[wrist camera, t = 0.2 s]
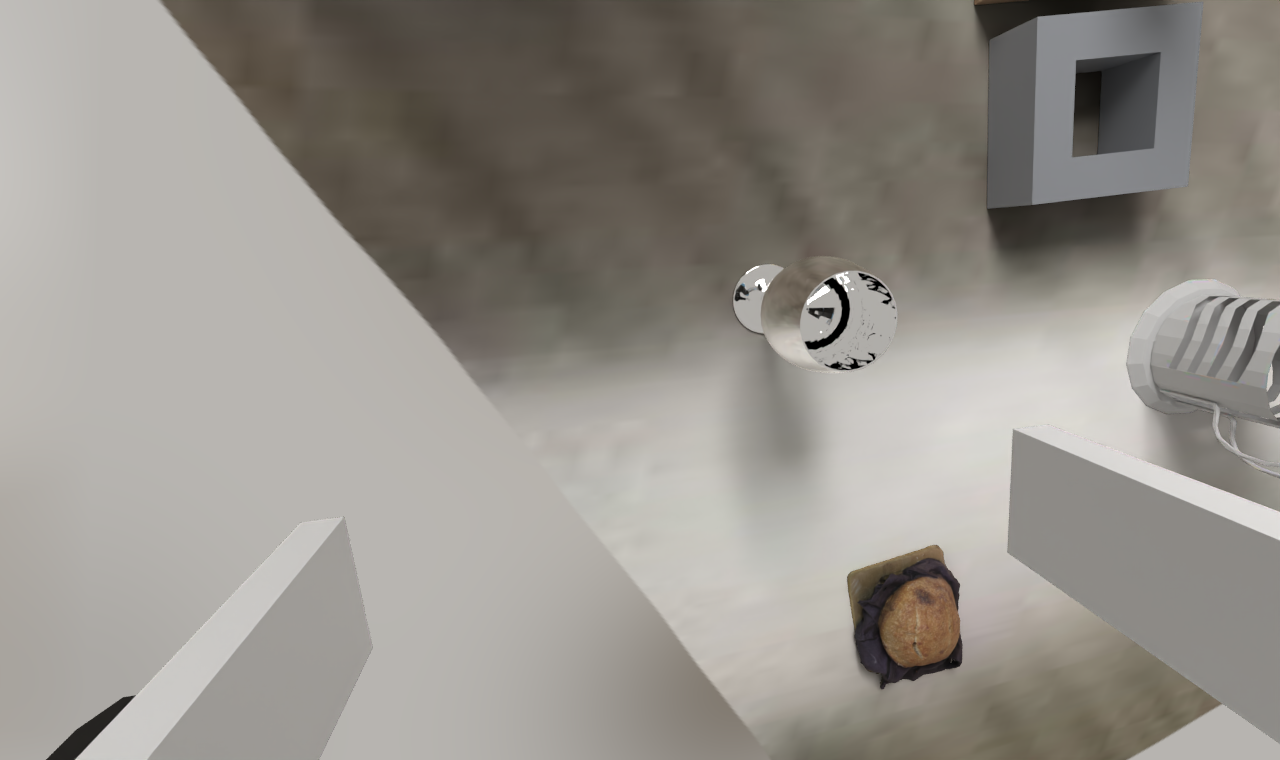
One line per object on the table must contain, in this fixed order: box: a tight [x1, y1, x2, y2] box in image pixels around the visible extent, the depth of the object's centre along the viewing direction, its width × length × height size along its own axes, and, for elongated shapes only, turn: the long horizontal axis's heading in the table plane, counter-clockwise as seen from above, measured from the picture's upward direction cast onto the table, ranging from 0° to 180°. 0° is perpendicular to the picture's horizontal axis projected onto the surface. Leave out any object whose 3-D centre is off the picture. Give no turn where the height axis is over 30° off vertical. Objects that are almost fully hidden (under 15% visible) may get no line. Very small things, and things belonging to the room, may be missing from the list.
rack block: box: [987, 2, 1203, 209], centre depth 38 cm, size 10×10×4 cm
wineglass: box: [733, 256, 898, 373], centre depth 34 cm, size 6×6×12 cm
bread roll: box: [847, 545, 962, 689], centre depth 45 cm, size 11×8×4 cm
